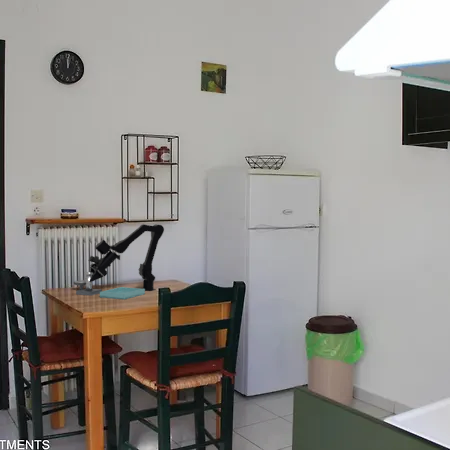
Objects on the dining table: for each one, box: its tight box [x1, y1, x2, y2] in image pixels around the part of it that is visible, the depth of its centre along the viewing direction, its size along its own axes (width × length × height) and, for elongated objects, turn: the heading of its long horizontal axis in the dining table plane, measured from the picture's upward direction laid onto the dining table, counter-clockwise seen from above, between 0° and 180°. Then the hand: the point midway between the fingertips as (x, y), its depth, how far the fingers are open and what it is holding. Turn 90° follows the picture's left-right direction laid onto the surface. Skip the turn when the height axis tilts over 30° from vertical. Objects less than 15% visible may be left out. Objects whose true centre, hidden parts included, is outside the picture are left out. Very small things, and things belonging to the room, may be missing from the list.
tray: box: [99, 286, 146, 300], centre depth 315 cm, size 20×16×3 cm
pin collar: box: [75, 288, 103, 296], centre depth 322 cm, size 10×10×2 cm
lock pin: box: [84, 271, 93, 291], centre depth 321 cm, size 4×4×12 cm
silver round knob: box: [73, 279, 86, 290], centre depth 336 cm, size 9×9×5 cm
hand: (87, 280), depth 321 cm, fingers open, 9 cm apart
